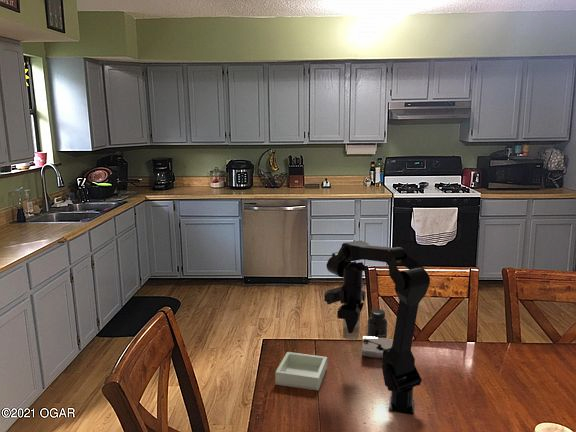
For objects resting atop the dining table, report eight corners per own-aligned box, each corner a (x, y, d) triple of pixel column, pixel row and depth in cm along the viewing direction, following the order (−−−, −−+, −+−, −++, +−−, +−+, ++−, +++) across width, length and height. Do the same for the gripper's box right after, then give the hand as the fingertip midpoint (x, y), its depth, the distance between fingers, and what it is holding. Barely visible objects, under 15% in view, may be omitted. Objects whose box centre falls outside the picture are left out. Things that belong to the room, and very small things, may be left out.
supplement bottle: (381, 350, 164) (382, 316, 161) (363, 344, 168) (364, 312, 165) (389, 342, 169) (391, 310, 167) (372, 337, 173) (373, 306, 171)
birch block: (357, 339, 147) (358, 315, 146) (342, 338, 148) (343, 313, 147) (359, 333, 151) (360, 309, 150) (345, 331, 153) (345, 308, 151)
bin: (318, 390, 139) (318, 378, 139) (275, 384, 143) (275, 372, 142) (326, 368, 152) (327, 356, 151) (287, 363, 155) (287, 351, 154)
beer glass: (408, 336, 160) (363, 331, 163) (409, 343, 153) (362, 339, 156) (407, 356, 161) (362, 351, 164) (408, 364, 154) (361, 359, 157)
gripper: (332, 270, 157) (331, 315, 160) (320, 289, 140) (319, 339, 143) (366, 273, 154) (365, 318, 157) (358, 293, 137) (357, 344, 140)
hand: (351, 329), depth 149 cm, fingers closed on birch block, 4 cm apart
